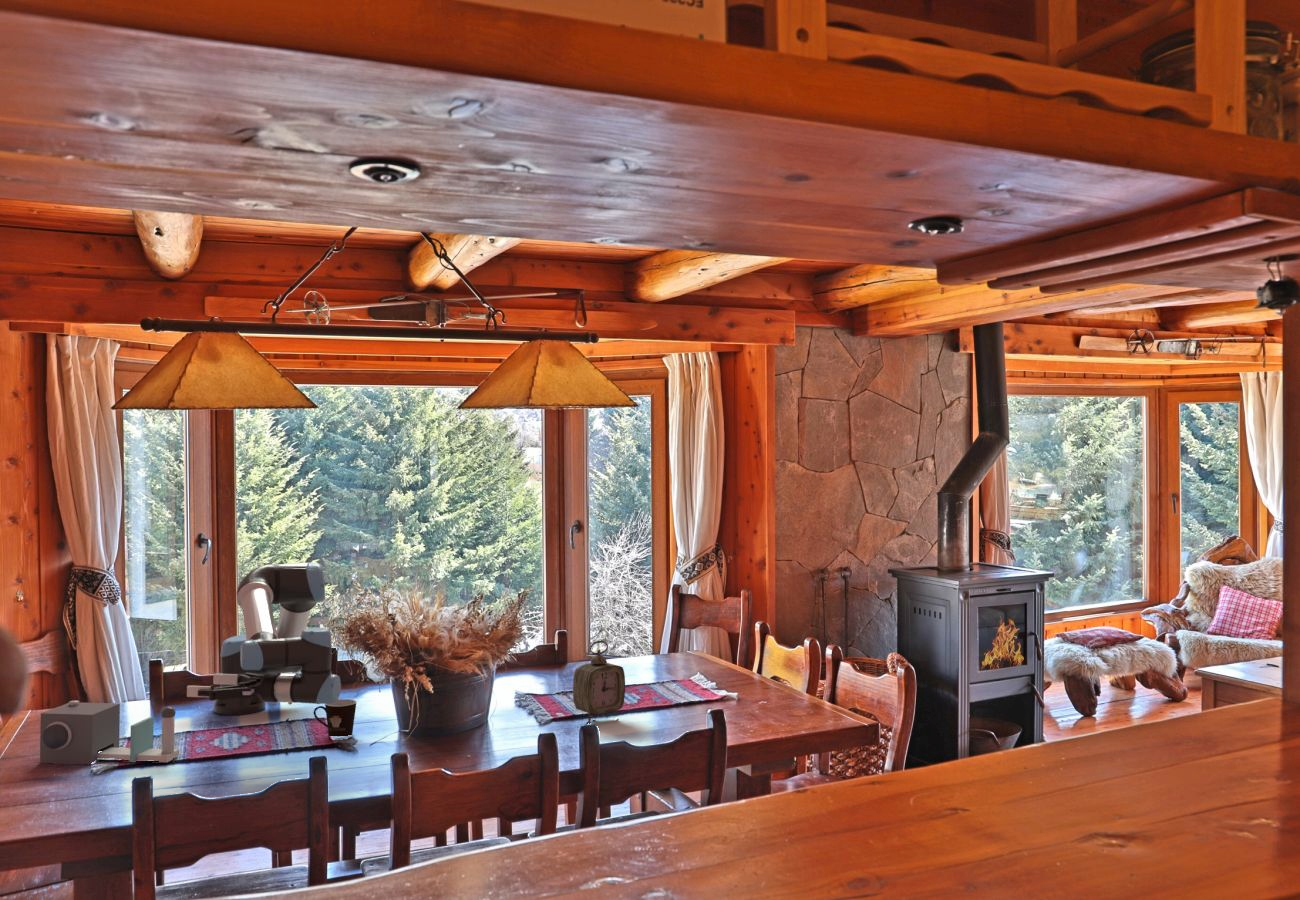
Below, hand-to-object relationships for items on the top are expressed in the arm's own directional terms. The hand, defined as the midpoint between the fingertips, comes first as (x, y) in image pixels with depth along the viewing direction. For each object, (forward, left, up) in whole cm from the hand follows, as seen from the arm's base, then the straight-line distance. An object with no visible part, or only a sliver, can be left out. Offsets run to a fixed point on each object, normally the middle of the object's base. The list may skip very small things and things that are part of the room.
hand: (201, 684), depth 263 cm
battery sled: (+16, -6, -20) cm, 26 cm away
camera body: (+31, -12, -20) cm, 39 cm away
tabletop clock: (-111, -13, -20) cm, 113 cm away
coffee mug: (-34, -16, -20) cm, 43 cm away
